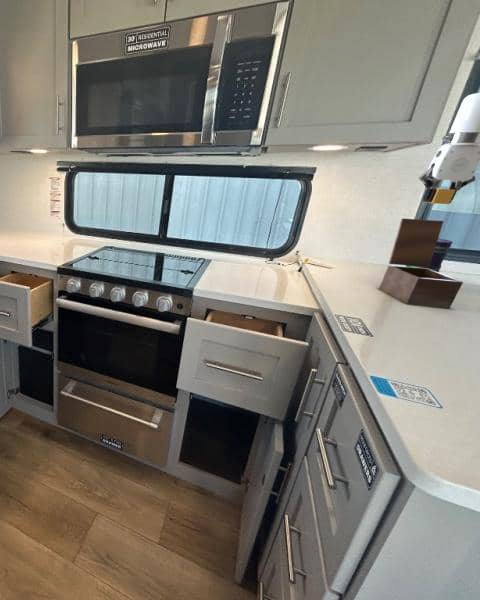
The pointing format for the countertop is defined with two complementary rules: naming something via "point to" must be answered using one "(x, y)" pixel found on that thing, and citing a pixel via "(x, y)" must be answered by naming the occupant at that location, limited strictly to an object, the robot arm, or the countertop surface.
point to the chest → (420, 286)
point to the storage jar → (438, 254)
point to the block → (443, 196)
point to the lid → (415, 242)
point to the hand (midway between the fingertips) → (436, 201)
